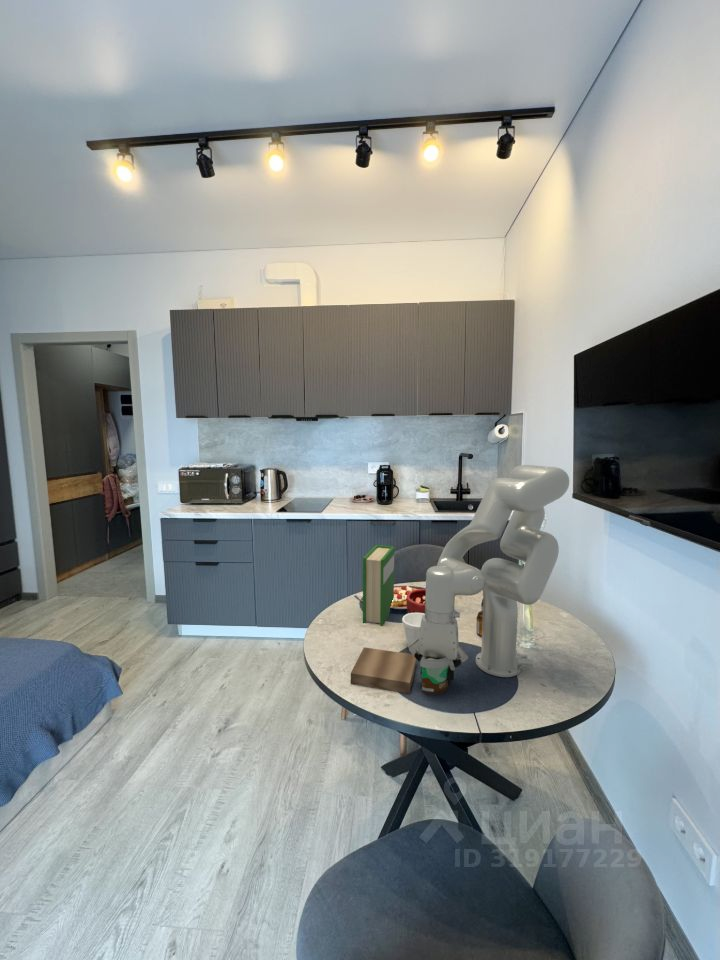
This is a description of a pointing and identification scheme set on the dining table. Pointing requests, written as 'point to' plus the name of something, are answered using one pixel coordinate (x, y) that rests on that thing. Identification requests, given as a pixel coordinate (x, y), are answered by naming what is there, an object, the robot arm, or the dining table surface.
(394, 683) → the walnut base
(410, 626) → the cup
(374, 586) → the hardback book
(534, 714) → the dining table surface
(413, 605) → the plant pot
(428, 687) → the food container
